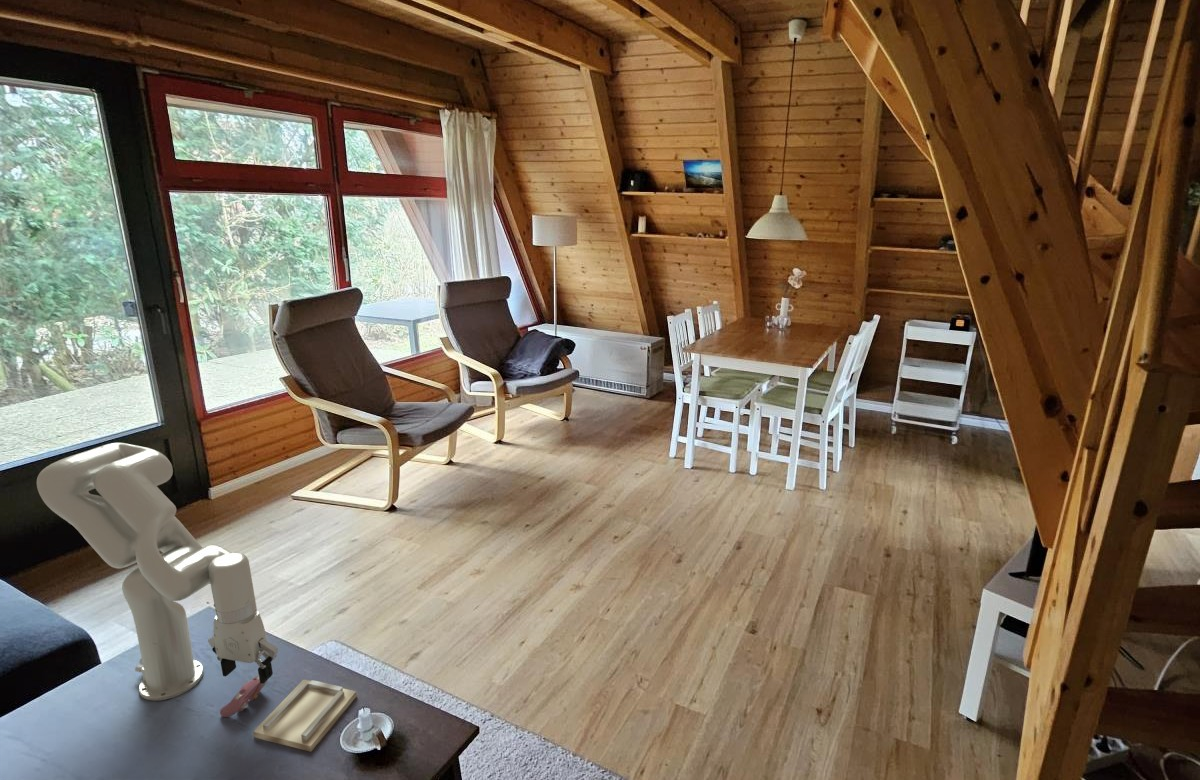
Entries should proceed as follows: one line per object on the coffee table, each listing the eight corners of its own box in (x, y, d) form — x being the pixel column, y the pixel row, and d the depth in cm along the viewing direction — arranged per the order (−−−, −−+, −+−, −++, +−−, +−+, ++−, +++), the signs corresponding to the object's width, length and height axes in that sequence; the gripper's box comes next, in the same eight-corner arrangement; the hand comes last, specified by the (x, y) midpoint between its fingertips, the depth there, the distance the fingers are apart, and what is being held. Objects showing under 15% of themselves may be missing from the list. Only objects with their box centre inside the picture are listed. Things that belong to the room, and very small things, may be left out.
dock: (253, 737, 133) (252, 727, 133) (304, 684, 148) (303, 675, 148) (311, 751, 130) (310, 741, 130) (356, 696, 145) (355, 687, 145)
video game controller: (233, 726, 138) (243, 706, 135) (216, 715, 138) (225, 694, 136) (265, 694, 147) (274, 674, 145) (249, 683, 147) (257, 664, 145)
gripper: (188, 614, 133) (202, 681, 138) (257, 625, 130) (269, 694, 134) (216, 594, 140) (228, 658, 145) (282, 604, 137) (293, 670, 141)
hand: (248, 675), depth 140 cm, fingers open, 9 cm apart
